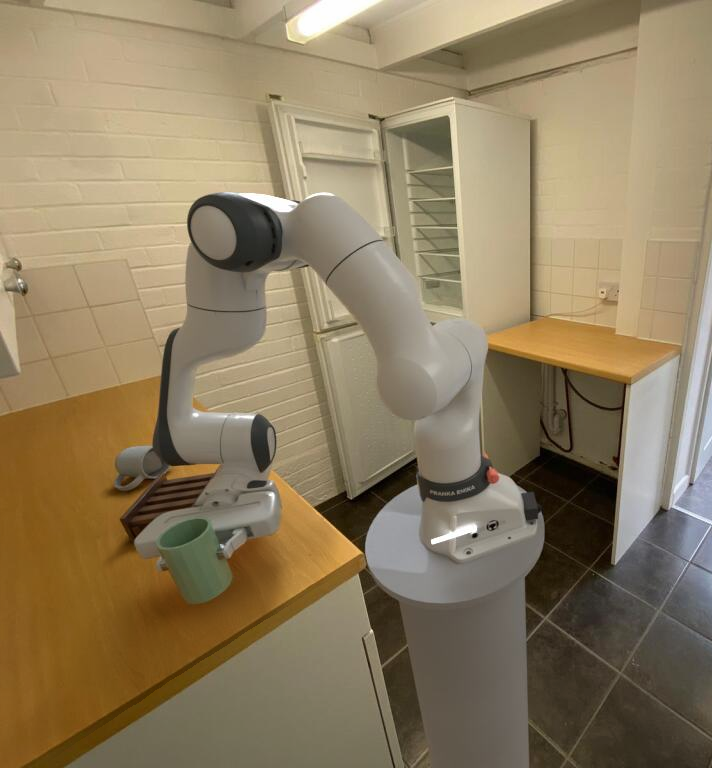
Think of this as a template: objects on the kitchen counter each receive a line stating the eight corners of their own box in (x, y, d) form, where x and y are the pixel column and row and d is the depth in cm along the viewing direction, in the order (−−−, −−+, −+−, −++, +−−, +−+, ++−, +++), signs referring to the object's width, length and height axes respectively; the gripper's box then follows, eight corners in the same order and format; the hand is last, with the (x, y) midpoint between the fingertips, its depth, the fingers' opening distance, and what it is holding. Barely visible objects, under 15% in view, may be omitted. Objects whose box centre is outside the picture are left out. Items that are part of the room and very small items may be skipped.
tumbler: (238, 565, 69) (217, 513, 65) (224, 598, 64) (199, 543, 59) (194, 574, 68) (169, 521, 64) (175, 609, 62) (146, 553, 58)
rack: (231, 483, 96) (224, 463, 94) (204, 528, 83) (195, 506, 81) (169, 493, 94) (160, 473, 91) (130, 541, 80) (119, 519, 78)
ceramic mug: (147, 464, 104) (134, 438, 101) (177, 465, 104) (165, 439, 100) (106, 492, 95) (90, 464, 92) (138, 493, 94) (124, 465, 91)
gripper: (154, 500, 72) (103, 561, 59) (283, 478, 76) (260, 531, 63) (167, 528, 74) (121, 593, 62) (291, 506, 78) (271, 562, 66)
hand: (193, 561), depth 63 cm, fingers closed on tumbler, 6 cm apart
